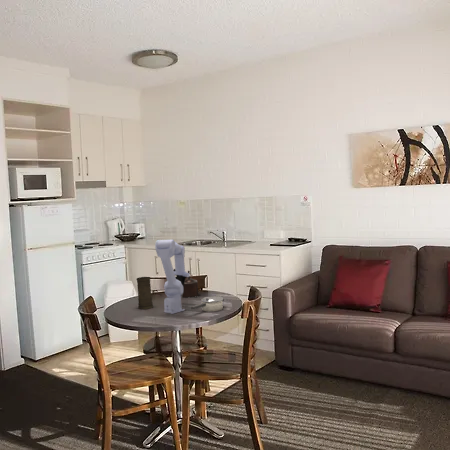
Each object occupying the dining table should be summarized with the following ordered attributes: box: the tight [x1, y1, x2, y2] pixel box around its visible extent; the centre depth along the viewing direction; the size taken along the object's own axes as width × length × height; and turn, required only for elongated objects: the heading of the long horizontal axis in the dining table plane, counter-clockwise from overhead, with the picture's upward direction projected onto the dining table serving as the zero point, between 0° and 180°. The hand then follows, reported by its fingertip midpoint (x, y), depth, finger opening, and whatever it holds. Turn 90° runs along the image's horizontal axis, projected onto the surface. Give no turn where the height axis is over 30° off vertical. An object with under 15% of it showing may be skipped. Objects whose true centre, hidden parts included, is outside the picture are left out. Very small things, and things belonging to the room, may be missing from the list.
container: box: [135, 276, 154, 310], centre depth 294 cm, size 9×9×18 cm
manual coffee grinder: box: [173, 268, 199, 299], centre depth 319 cm, size 16×11×18 cm
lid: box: [200, 295, 224, 303], centre depth 280 cm, size 12×12×2 cm
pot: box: [190, 298, 225, 313], centre depth 278 cm, size 23×12×5 cm, turn 135°
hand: (181, 287), depth 295 cm, fingers closed
